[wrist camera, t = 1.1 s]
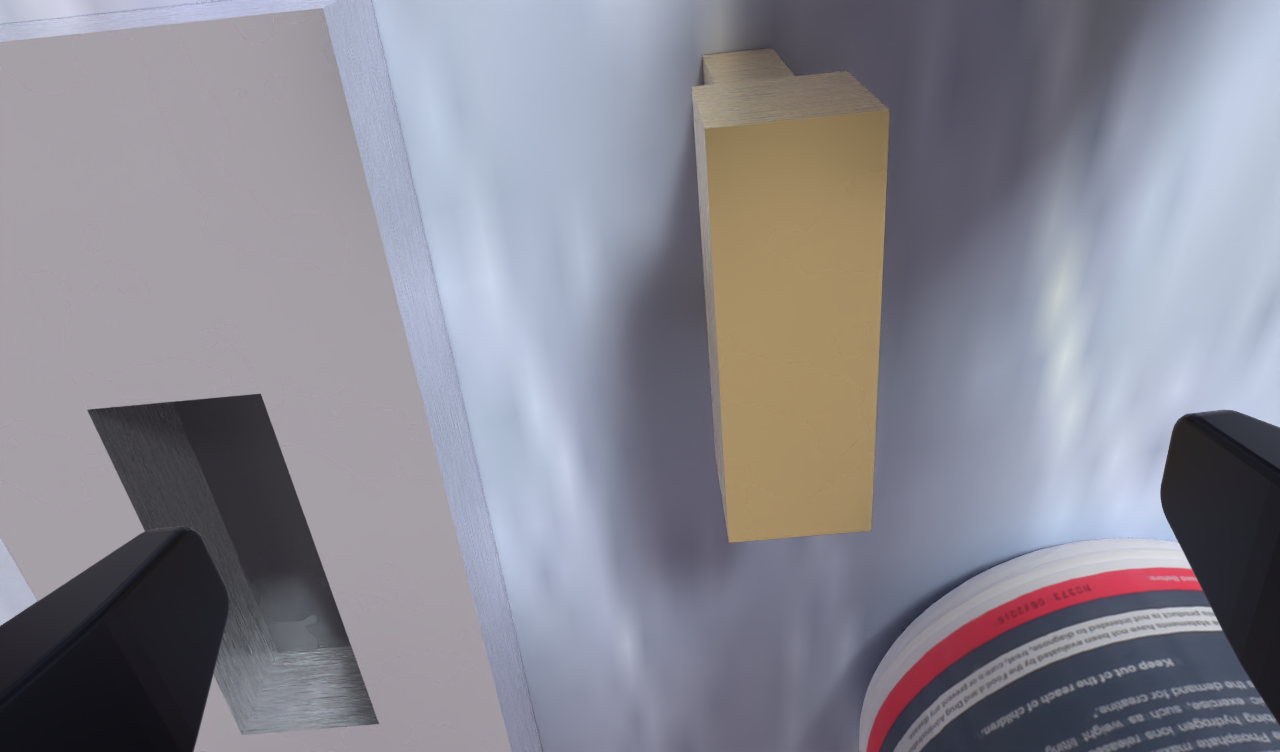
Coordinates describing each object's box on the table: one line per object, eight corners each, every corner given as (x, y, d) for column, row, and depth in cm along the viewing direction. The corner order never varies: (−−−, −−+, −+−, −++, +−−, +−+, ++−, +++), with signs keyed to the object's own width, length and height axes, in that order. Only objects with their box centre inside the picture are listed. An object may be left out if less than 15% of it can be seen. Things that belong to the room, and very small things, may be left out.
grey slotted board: (368, -15, 17) (323, 8, 15) (549, 783, 29) (542, 873, 26) (-140, 39, 17) (-272, 70, 15) (247, 806, 29) (210, 898, 27)
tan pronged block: (797, 24, 18) (889, 110, 12) (799, 337, 21) (871, 530, 15) (676, 36, 18) (704, 129, 12) (697, 347, 21) (728, 542, 15)
